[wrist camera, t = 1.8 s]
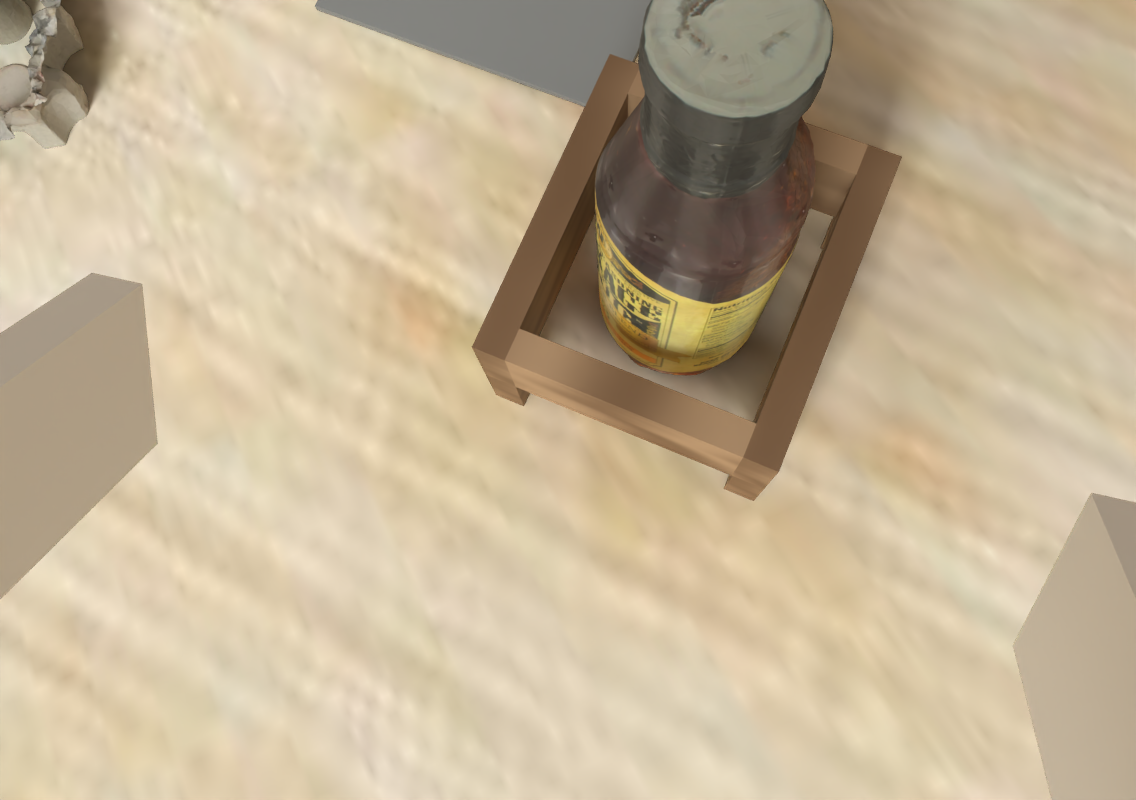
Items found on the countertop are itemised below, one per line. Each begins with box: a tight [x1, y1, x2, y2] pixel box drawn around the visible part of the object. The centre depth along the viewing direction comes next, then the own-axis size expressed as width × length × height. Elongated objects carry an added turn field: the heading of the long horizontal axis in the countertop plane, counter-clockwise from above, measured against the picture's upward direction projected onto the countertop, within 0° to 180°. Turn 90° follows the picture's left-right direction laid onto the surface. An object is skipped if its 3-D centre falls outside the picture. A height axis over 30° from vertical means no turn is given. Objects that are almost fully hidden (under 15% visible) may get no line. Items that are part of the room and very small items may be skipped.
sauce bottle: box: [595, 0, 833, 375], centre depth 31 cm, size 6×6×20 cm
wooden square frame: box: [472, 54, 902, 501], centre depth 37 cm, size 11×12×6 cm
